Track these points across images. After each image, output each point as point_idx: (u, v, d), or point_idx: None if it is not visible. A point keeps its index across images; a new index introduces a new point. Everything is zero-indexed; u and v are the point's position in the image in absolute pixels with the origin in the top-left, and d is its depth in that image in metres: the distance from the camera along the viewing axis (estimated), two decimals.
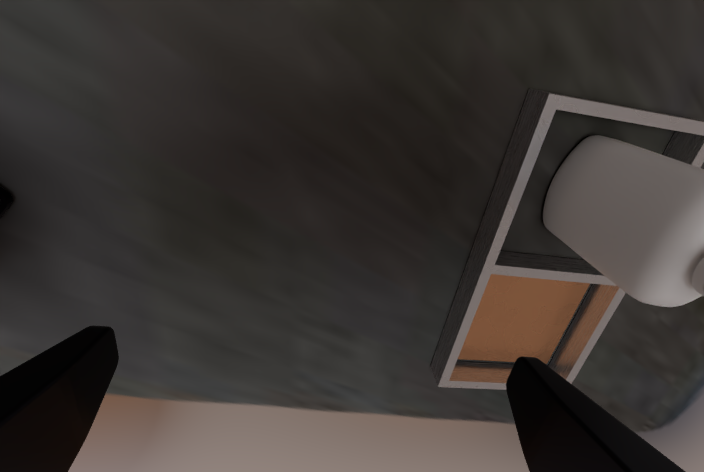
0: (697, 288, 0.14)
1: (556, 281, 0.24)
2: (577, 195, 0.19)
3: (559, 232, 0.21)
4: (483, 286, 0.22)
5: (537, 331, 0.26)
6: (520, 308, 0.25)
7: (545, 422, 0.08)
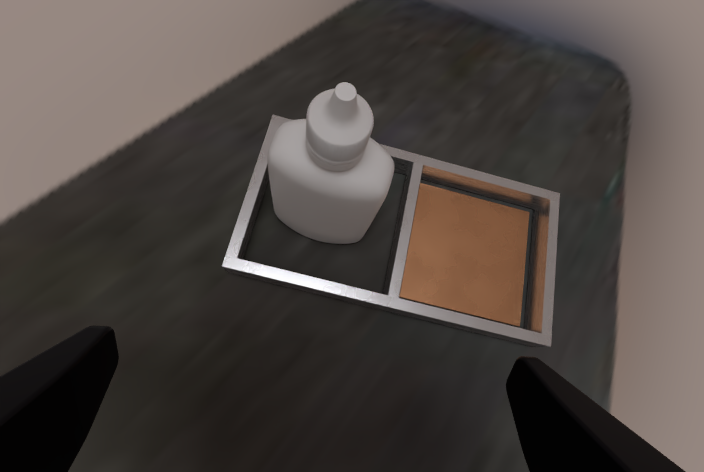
0: (352, 165, 0.15)
1: (423, 218, 0.24)
2: (315, 229, 0.21)
3: (355, 235, 0.22)
4: (413, 304, 0.21)
5: (484, 229, 0.25)
6: (454, 250, 0.24)
7: (545, 422, 0.08)
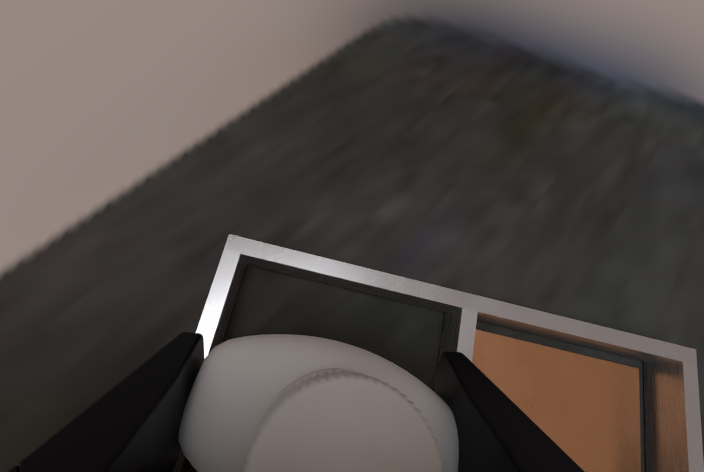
0: None
1: None
2: None
3: None
4: None
5: (573, 404, 0.15)
6: None
7: (459, 418, 0.08)
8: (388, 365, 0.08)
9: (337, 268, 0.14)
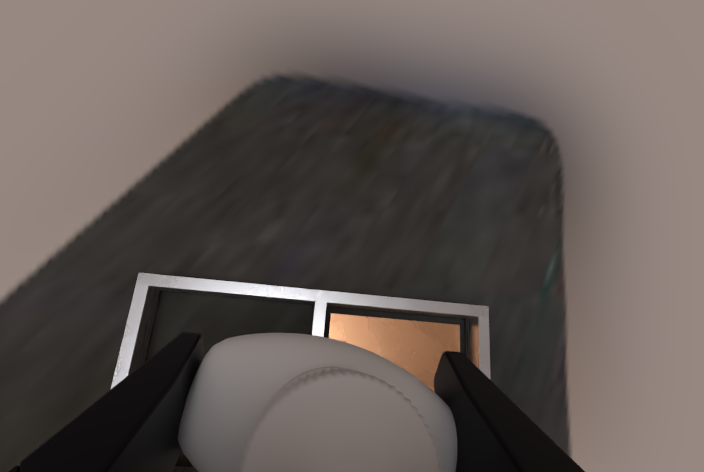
0: None
1: None
2: None
3: None
4: None
5: (410, 357, 0.22)
6: None
7: (459, 418, 0.08)
8: (386, 363, 0.08)
9: (221, 286, 0.20)
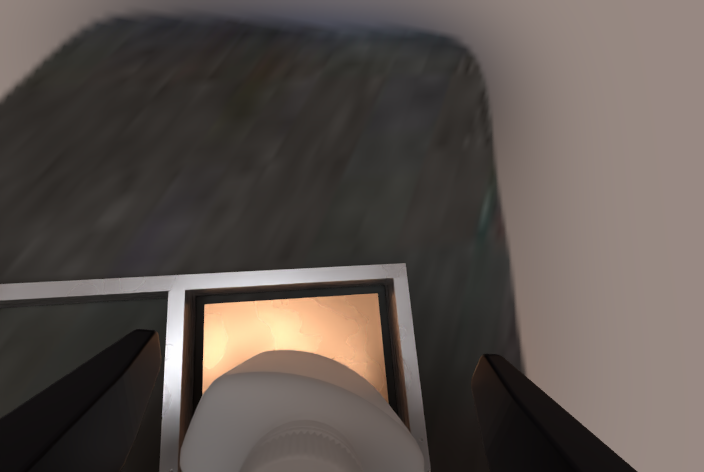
0: None
1: (219, 361, 0.16)
2: None
3: None
4: None
5: (316, 344, 0.17)
6: None
7: (503, 420, 0.08)
8: (360, 409, 0.09)
9: (29, 290, 0.14)
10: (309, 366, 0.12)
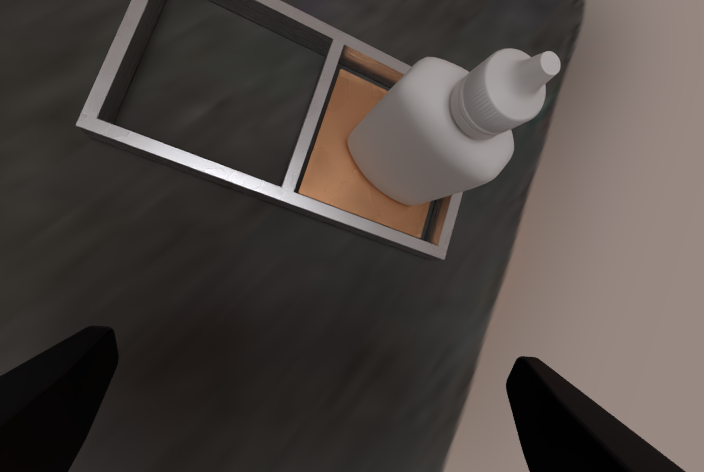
0: (487, 138, 0.14)
1: (338, 110, 0.22)
2: (386, 176, 0.20)
3: (418, 200, 0.21)
4: (309, 200, 0.19)
5: None
6: None
7: (545, 422, 0.08)
8: None
9: None
10: None
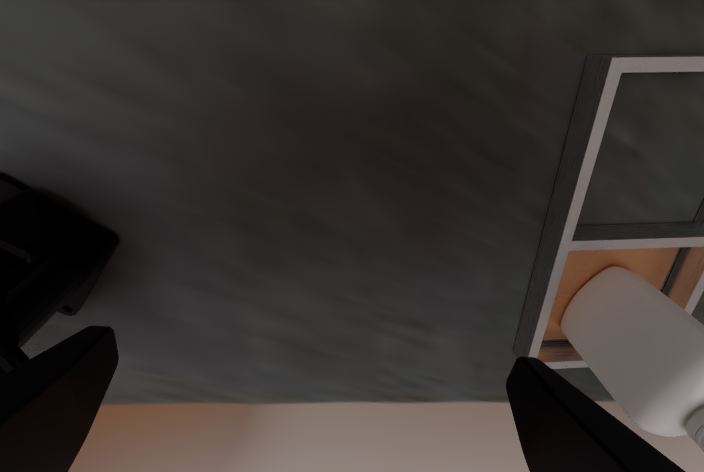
0: (689, 433, 0.17)
1: (640, 249, 0.23)
2: (597, 318, 0.22)
3: (575, 342, 0.24)
4: (562, 264, 0.21)
5: None
6: None
7: (545, 422, 0.08)
8: None
9: None
10: None
